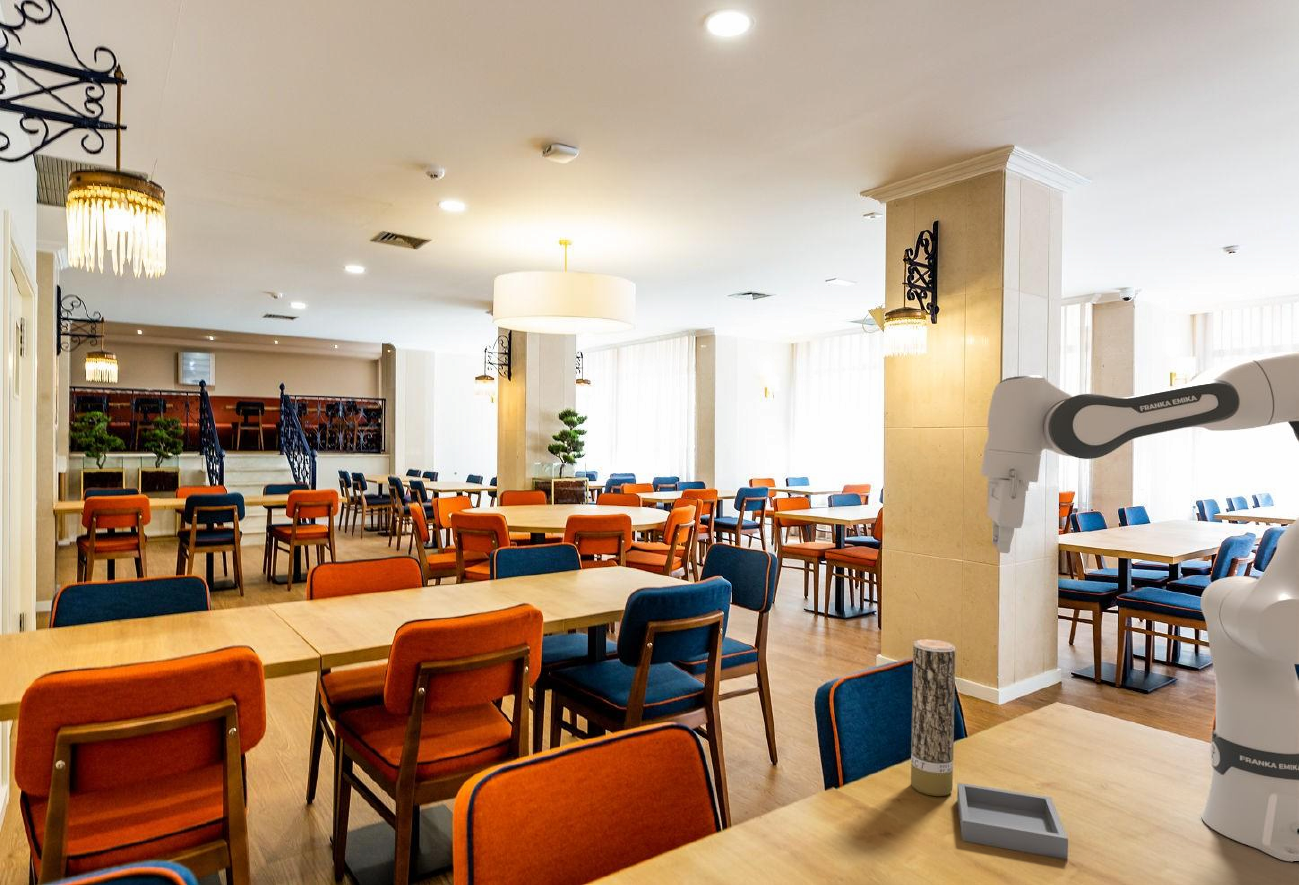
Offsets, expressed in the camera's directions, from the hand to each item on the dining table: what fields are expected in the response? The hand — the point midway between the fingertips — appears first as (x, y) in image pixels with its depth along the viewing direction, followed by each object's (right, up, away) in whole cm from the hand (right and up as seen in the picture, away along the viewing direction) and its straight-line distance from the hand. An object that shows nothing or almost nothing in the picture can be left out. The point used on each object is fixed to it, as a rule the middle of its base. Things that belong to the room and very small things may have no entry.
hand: (1000, 549), depth 129 cm
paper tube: (-11, -42, +1) cm, 43 cm away
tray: (-4, -42, -12) cm, 44 cm away
